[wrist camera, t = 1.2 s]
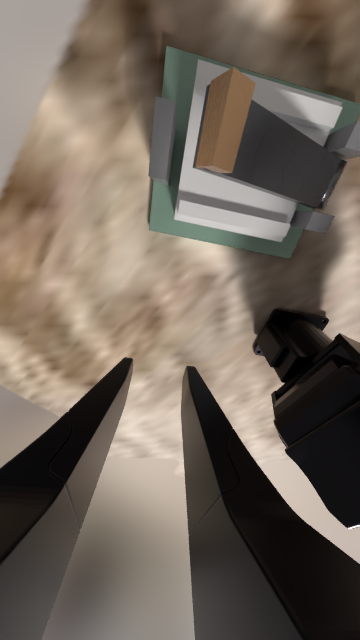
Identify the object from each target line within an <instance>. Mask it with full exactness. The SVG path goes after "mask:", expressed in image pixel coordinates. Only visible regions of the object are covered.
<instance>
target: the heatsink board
mask: <svg viewBox="0 0 360 640" xmlns="http://www.w3.org/2000/svg"><path fill="white" fill-rule="evenodd" d="M233 67H235V68H236V69H237V70H239V71H240V72H241V73H243V74H244V75H245V76H247V77H248V78H249V79H251V80H252V81H253V82H255V83H256V84H255V88H254V92H253V96H252V100H254V101H255V102H257V103H258V104H260V105H261V106H263V107H264V108H266V109H267V110H269V111H270V112H272V113H273V114H275V115H276V116H278V117H279V118H281V119H282V120H284V121H285V122H287V123H288V124H290V125H291V126H293V127H294V128H296V129H297V130H299V131H300V132H302V133H303V134H304V135H306V136H307V137H309V138H310V139H312V140H313V141H315V142H316V143H318V144H319V145H321V146H322V147H324V148H325V149H327V150H328V151H330V152H331V153H333V154H334V155H336V156H337V157H339V158H340V159H341V160H346V159H350V158H354V157H357V156H360V122H359V121H357V122H356V120H357V118H358V116H359V114H360V104H359V103H355V102H352V101H349V100H345V99H342V98H339V97H335V96H332V95H329V94H326V93H322V92H319V91H316V90H312V89H309V88H306V87H302V86H299V85H296V84H292V83H289V82H286V81H282V80H279V79H276V78H272V77H269V76H266V75H262V74H259V73H256V72H252V71H249V70H246V69H242V68H239V67H236V66H233V65H229V64H226V63H223V62H219V61H216V60H213V59H209V58H206V57H203V56H199V55H196V54H193V53H189V52H186V51H183V50H179V49H176V48H173V47H169V46H166V55H165V66H164V76H163V87H162V97H158V96H155V102H154V115H153V127H152V139H151V151H150V164H149V177H150V178H151V179H153V180H154V183H153V193H152V204H151V215H150V225H149V230H150V231H155V232H160V233H165V234H170V235H175V236H180V237H185V238H190V239H195V240H200V241H205V242H210V243H214V244H219V245H224V246H229V247H234V248H239V249H244V250H249V251H254V252H259V253H264V254H269V255H273V256H278V257H283V258H288V259H290V258H291V256H292V253H293V251H294V249H295V247H296V245H297V243H298V241H299V239H300V237H301V235H302V233H303V231H304V229H305V230H310V231H314V232H319V233H324V234H325V233H326V232H327V230H328V228H329V226H330V224H331V222H332V220H333V219H334V217H335V216H331V215H327V214H322V213H318V212H313V210H314V208H309V207H307V206H304V205H301V204H298V203H295V202H292V201H289V200H286V199H283V198H281V197H278V196H275V195H272V194H269V193H266V192H263V191H260V190H257V189H254V188H251V187H248V186H245V185H242V184H239V183H236V182H233V181H230V180H227V179H224V178H221V177H218V176H215V175H212V174H210V173H207V172H204V171H201V170H198V169H195V168H193V162H194V156H195V150H196V145H197V139H198V133H199V128H200V122H201V116H202V110H203V105H204V99H205V93H206V88H207V86H208V85H209V84H210V83H211V80H213V79H215V78H216V77H218V76H220V75H221V74H223V73H224V72H226V71H228V70H229V69H231V68H233Z"/></svg>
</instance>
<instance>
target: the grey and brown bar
mask: <svg viewBox="0 0 360 640" xmlns="http://www.w3.org/2000/svg"><path fill="white" fill-rule="evenodd" d="M255 84H256V83H255V82H253V81H252V80H251V79H249V78H248V77H247V76H245V75H244V74H243V73H241V72H240V71H239V70H237V69H236V68H235V67H233V68H231V69H229V70H228V71H226V72H224V73H223V74H221V75H220V76H218V77H216V78H215V79H213V80H211V83H210V84H209V85H208V86H207V88H206V93H205V99H204V105H203V110H202V116H201V122H200V128H199V133H198V139H197V145H196V150H195V156H194V162H193V168H195V169H198V170H201V171H204V172H207V173H210V174H212V175H215V176H218V177H221V178H224V179H227V180H230V181H233V182H236V183H239V184H242V185H245V186H248V187H251V188H254V189H257V190H260V191H263V192H266V193H269V194H272V195H275V196H278V197H281V198H283V199H286V200H289V201H292V202H295V203H298V204H301V205H304V206H307V207H309V208H314V209H321V210H324V208H325V206H326V204H327V202H328V200H329V198H330V196H331V194H332V192H333V190H334V188H335V186H336V184H337V182H338V180H339V178H340V176H341V174H342V172H343V170H344V168H345V166H346V164H347V161H345V160H341V159H340V158H339V157H337V156H336V155H334V154H333V153H331V152H330V151H328V150H327V149H325V148H324V147H322V146H321V145H319V144H318V143H316V142H315V141H313V140H312V139H310V138H309V137H307V136H306V135H304V134H303V133H302V132H300V131H299V130H297V129H296V128H294V127H293V126H291V125H290V124H288V123H287V122H285V121H284V120H282V119H281V118H279V117H278V116H276V115H275V114H273V113H272V112H270V111H269V110H267V109H266V108H264V107H263V106H261V105H260V104H258V103H257V102H255V101H254V100H252V96H253V92H254V88H255Z"/></svg>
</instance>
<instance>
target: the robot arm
mask: <svg viewBox="0 0 360 640" xmlns="http://www.w3.org/2000/svg"><path fill="white" fill-rule="evenodd" d="M278 312H279V313H278ZM277 313H278V314H277ZM323 320H324V321H323ZM322 321H323V322H322ZM328 322H329V319H328V318H327V317H325V316H320V315H314V314H308V313H302V312H297V311H291V310H285V309H280V308H277V309H275V310H274V311H273V312H272V314H271V316H270V318H269V320H268V322H267V324H266V325H265V326H264V328H263V330H262V332H261V334H260V336H259V338H258V340H257V344H256V346H255V348H254V350H253V351H254V353H255V354H256V355H261V356H265V358H266V360H267V362H268V363H269V365H270V367H273V368H274V370H275V371H276V373H277V375H278V377H279V378H280V380H281V382H283V383H285V384H284V385H283V386H281V387H280V388H279V389H278V390H277V391H274V392H273V393H272V394H271V396H272V403H273V409H274V416H275V420H274V425H275V427H276V429H277V432H278V434H279V437H280V438H281V440H282V442H283V443H284V445H285V446H286V449H285V452H286V454H287V455H288V456H289V457H290V458H291V459H292V460H293V461H294V462H295V463H296V464H297V465H298V466H299V467H300V469H301V470H302V471H303V472H304V474H305V475H306V476H307V478H308V479H309V481H310V482H311V484H312V485H313V487H314V488H315V490H316V491H317V493H318V495H319V496H320V498H321V499H322V501H323V503H324V504H325V506H326V508H327V509H328V511H329V512H330V513H331V514H332V515H333V516H334V517H336V518H337V519H338V520H339V521H340V522H341V523H342V524H343V525H344V526H345V527H347V528H349V529H353V528H356V527H360V343H359V342H357V341H355V340H353V339H351V338H348V337H346V336H344V335H342V334H340V333H339V334H338V335H337V336H336V337H335V339H334V340H333V341H332V340H331V339H330V338H329V337H328V336H327V335H326V334H325V333H324V332H322V331H323V329H324V328H325V327H326V325H327V324H328ZM258 350H259V351H258ZM132 371H133V358H127V357H125V358H123V359H122V360H121V361H120V362H119V363H118V364H117V365H116V366H115V367H114V368H113V369H112V370H111V371H110V372H109V373H108V374H107V375H105V376H104V377H103V378H102V379H101V380H100V381H99V382H98V383H97V384H96V385H95V386H94V387H93V388H92V389H91V390H90V391H89V392H88V393H87V394H85V395H84V396H83V397H82V398H81V399H80V400H79V401H78V402H77V403H76V404H75V405H74V406H73V407H72V408H71V409H70V410H69V412H66V413H65V414H64V415H63V416H62V417H61V418H60V419H59V420H58V421H57V422H56V423H55V424H54V425H52V426H51V427H50V428H49V429H48V430H47V431H46V432H45V433H43V434H42V435H41V436H40V437H39V438H37V439H36V440H35V441H34V442H32V443H31V444H30V445H29V446H28V447H26V448H25V449H24V450H23V451H21V452H20V453H19V454H18V455H16V456H15V457H14V458H13V459H11V460H10V461H9V462H8V463H6V464H5V465H4V466H3V467H1V468H0V640H41V639H42V636H43V633H44V631H45V628H46V625H47V622H48V619H49V617H50V614H51V611H52V608H53V605H54V603H55V600H56V597H57V594H58V591H59V588H60V586H61V583H62V580H63V577H64V575H65V572H66V569H67V566H68V563H69V561H70V558H71V555H72V552H73V549H74V547H75V544H76V541H77V538H78V535H79V533H80V529H81V527H82V524H83V521H84V518H85V516H86V513H87V510H88V507H89V504H90V502H91V498H92V496H93V493H94V490H95V488H96V484H97V482H98V479H99V476H100V473H101V471H102V468H103V465H104V462H105V460H106V457H107V454H108V451H109V448H110V446H111V443H112V440H113V437H114V434H115V432H116V429H117V426H118V423H119V420H120V418H121V415H122V412H123V409H124V406H125V402H126V398H127V394H128V390H129V385H130V381H131V376H132ZM181 421H182V437H183V453H184V469H185V484H186V500H187V517H188V531H189V550H190V566H191V582H192V598H193V612H194V630H195V640H360V564H359V563H357V562H356V561H355V560H353V559H352V558H351V557H350V556H348V555H347V554H346V553H344V552H343V551H342V550H341V549H339V548H338V547H337V546H335V545H334V544H333V543H332V542H330V541H329V540H328V539H326V538H325V537H324V536H322V535H321V534H320V533H319V532H317V531H316V530H315V529H313V528H312V527H311V526H310V525H308V524H307V523H306V522H305V521H304V520H302V519H301V518H300V517H299V516H298V515H297V514H296V513H295V512H294V511H293V510H292V509H291V507H290V506H289V505H288V504H287V503H286V501H285V500H284V499H283V498H282V496H281V495H280V494H279V492H278V491H277V490H276V488H275V487H274V486H273V485H272V483H271V482H270V480H269V479H268V478H267V476H266V475H265V474H264V472H263V471H262V470H261V468H260V467H259V466H258V464H257V463H256V462H255V460H254V459H253V457H252V456H251V455H250V453H249V452H248V450H247V449H246V447H245V446H244V444H243V443H242V441H241V440H240V438H239V437H238V435H237V433H236V432H235V430H234V429H233V427H232V426H231V424H230V422H229V421H228V419H227V418H226V416H225V414H224V413H223V411H222V410H221V408H220V406H219V405H218V403H217V402H216V400H215V398H214V397H213V395H212V394H211V392H210V390H209V389H208V387H207V385H206V384H205V382H204V381H203V379H202V377H201V376H200V374H199V373H198V371H197V369H196V368H195V367H193V366H186V369H185V372H184V376H183V382H182V401H181Z"/></svg>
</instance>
